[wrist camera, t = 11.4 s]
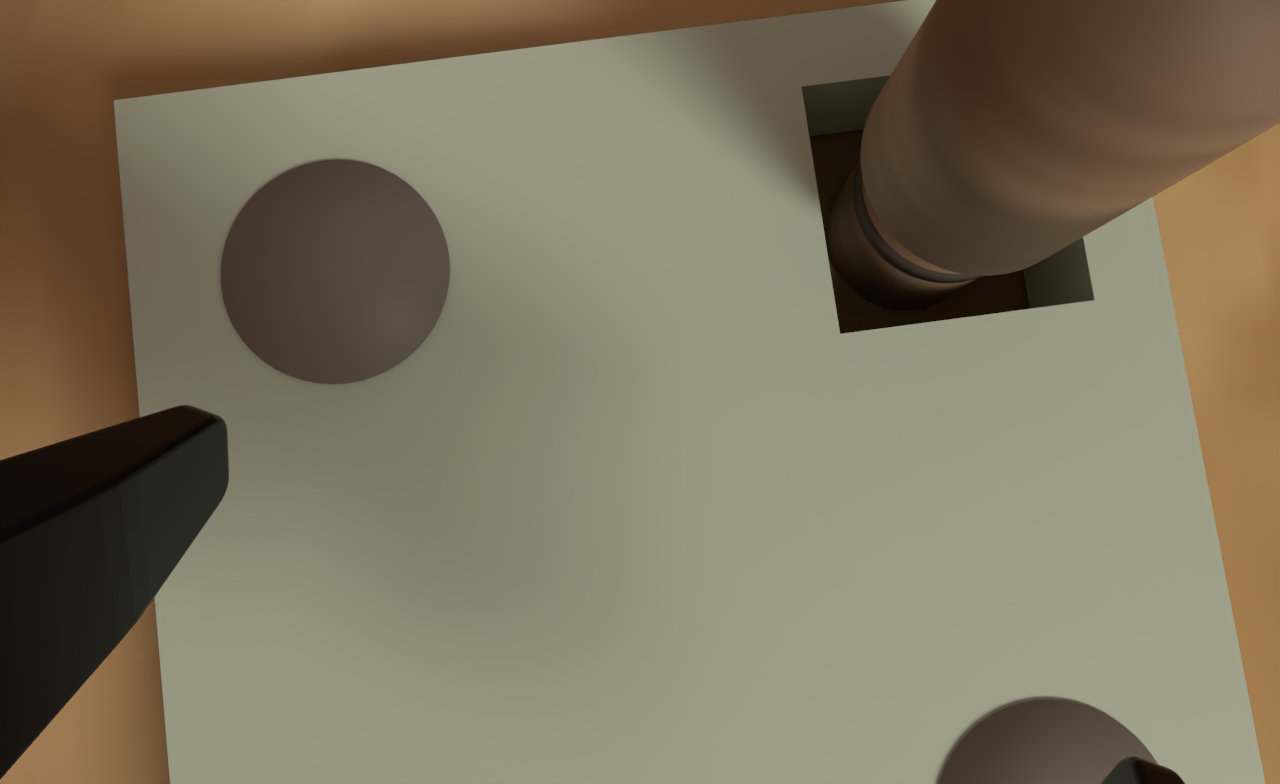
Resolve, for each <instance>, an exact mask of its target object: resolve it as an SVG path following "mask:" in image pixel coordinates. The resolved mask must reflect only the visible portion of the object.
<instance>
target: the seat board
mask: <svg viewBox="0 0 1280 784" xmlns="http://www.w3.org/2000/svg"><path fill="white" fill-rule="evenodd" d="M935 2H936V0H904V1H896V2H888V3H880V4H872V5H864V6H856V7H849V8H841V9H833V10H825V11H817V12H809V13H801V14H793V15H785V16H777V17H769V18H761V19H753V20H746V21H738V22H730V23H722V24H714V25H706V26H698V27H690V28H682V29H674V30H666V31H658V32H650V33H642V34H635V35H627V36H619V37H611V38H603V39H595V40H587V41H579V42H571V43H563V44H555V45H547V46H539V47H531V48H524V49H516V50H508V51H500V52H492V53H484V54H476V55H468V56H460V57H452V58H444V59H436V60H428V61H420V62H413V63H405V64H397V65H389V66H381V67H373V68H365V69H357V70H349V71H341V72H333V73H325V74H317V75H309V76H302V77H294V78H286V79H278V80H270V81H262V82H254V83H246V84H238V85H230V86H222V87H214V88H206V89H198V90H191V91H183V92H175V93H167V94H159V95H151V96H143V97H135V98H127V99H119V100H113V101H114V113H115V125H116V137H117V149H118V161H119V173H120V185H121V197H122V210H123V222H124V234H125V246H126V258H127V270H128V282H129V294H130V306H131V318H132V330H133V342H134V354H135V367H136V379H137V391H138V403H139V415H140V417H143V416H146V415H149V414H153V413H156V412H159V411H163V410H166V409H169V408H172V407H176V406H180V405H190V406H194V407H197V408H199V409H202V410H205V411H207V412H210V413H213V414H216V415H218V416H220V417H221V418H223V420H224V421H225V423H226V425H227V432H228V458H229V482H228V487H227V490H226V493H225V495H224V497H223V499H222V501H221V502H220V504H219V505H218V507H217V508H216V510H215V511H214V513H213V514H212V515H211V517H210V518H209V520H208V521H207V523H206V524H205V526H204V527H203V528H202V530H201V531H200V533H199V534H198V536H197V537H196V538H195V540H194V541H193V543H192V544H191V546H190V547H189V548H188V550H187V551H186V553H185V554H184V556H183V557H182V559H181V560H180V561H179V563H178V564H177V566H176V567H175V569H174V570H173V571H172V573H171V574H170V576H169V577H168V579H167V580H166V582H165V583H164V584H163V586H162V587H161V589H160V590H159V592H158V593H157V594H156V596H155V608H156V620H157V632H158V644H159V656H160V668H161V680H162V693H163V705H164V717H165V729H166V741H167V753H168V765H169V777H170V784H1100V783H1101V782H1102V781H1103V779H1104V778H1105V777H1106V776H1107V775H1108V774H1109V772H1110V771H1111V770H1112V769H1113V768H1114V766H1115V765H1116V764H1117V763H1118V762H1119V761H1120V760H1121V759H1122V758H1125V757H1127V756H1137V757H1140V758H1143V759H1145V760H1148V761H1151V762H1153V763H1156V764H1159V765H1161V766H1164V767H1167V768H1169V769H1171V770H1173V771H1174V772H1176V773H1177V774H1178V775H1179V776H1180V777H1181V779H1182V780H1183V781H1184V783H1185V784H1265V780H1264V774H1263V769H1262V764H1261V759H1260V754H1259V748H1258V743H1257V738H1256V733H1255V728H1254V722H1253V717H1252V712H1251V707H1250V702H1249V696H1248V691H1247V686H1246V681H1245V676H1244V670H1243V665H1242V660H1241V655H1240V649H1239V644H1238V639H1237V634H1236V629H1235V623H1234V618H1233V613H1232V608H1231V603H1230V597H1229V592H1228V587H1227V582H1226V577H1225V571H1224V566H1223V561H1222V556H1221V550H1220V545H1219V540H1218V535H1217V530H1216V524H1215V519H1214V514H1213V509H1212V504H1211V498H1210V493H1209V488H1208V483H1207V478H1206V472H1205V467H1204V462H1203V457H1202V452H1201V446H1200V441H1199V436H1198V431H1197V425H1196V420H1195V415H1194V410H1193V405H1192V399H1191V394H1190V389H1189V384H1188V379H1187V373H1186V368H1185V363H1184V358H1183V353H1182V347H1181V342H1180V337H1179V332H1178V327H1177V321H1176V316H1175V311H1174V306H1173V300H1172V295H1171V290H1170V285H1169V280H1168V274H1167V269H1166V264H1165V259H1164V254H1163V248H1162V243H1161V238H1160V233H1159V228H1158V222H1157V217H1156V212H1155V207H1154V201H1153V197H1151V198H1149V199H1148V200H1146V201H1144V202H1143V203H1141V204H1139V205H1137V206H1136V207H1134V208H1132V209H1130V210H1129V211H1127V212H1125V213H1124V214H1122V215H1120V216H1118V217H1117V218H1115V219H1113V220H1111V221H1110V222H1108V223H1106V224H1105V225H1103V226H1101V227H1099V228H1098V229H1096V230H1094V231H1092V232H1091V233H1089V234H1087V235H1086V236H1084V237H1082V238H1080V239H1079V240H1077V241H1075V242H1073V243H1072V244H1070V245H1068V246H1067V247H1065V248H1063V249H1061V250H1060V251H1058V252H1056V253H1054V254H1053V255H1051V256H1049V257H1048V258H1046V259H1044V260H1042V261H1040V262H1039V263H1037V264H1035V265H1033V266H1030V267H1028V268H1025V269H1023V273H1024V279H1025V284H1026V290H1027V296H1028V301H1029V307H1030V309H1024V310H1017V311H1009V312H1001V313H994V314H986V315H979V316H971V317H964V318H956V319H949V320H941V321H933V322H926V323H918V324H911V325H903V326H896V327H888V328H881V329H873V330H865V331H858V332H850V333H843V334H840V330H839V323H838V317H837V310H836V304H835V298H834V291H833V285H832V278H831V272H830V266H829V259H828V253H827V247H826V240H825V234H824V227H823V221H822V215H821V208H820V202H819V195H818V189H817V183H816V176H815V170H814V164H813V157H812V151H811V144H810V138H809V137H810V136H817V135H825V134H833V133H841V132H849V131H856V130H864V127H865V123H866V120H867V117H868V115H869V113H870V110H871V108H872V106H873V104H874V102H875V101H876V99H877V97H878V96H879V94H880V92H881V91H882V89H883V87H884V86H885V84H886V82H887V81H888V79H889V77H890V76H891V74H892V72H893V71H894V69H895V67H896V66H897V64H898V63H899V61H900V59H901V58H902V56H903V54H904V53H905V51H906V49H907V48H908V46H909V44H910V43H911V41H912V39H913V38H914V36H915V35H916V33H917V31H918V30H919V28H920V26H921V25H922V23H923V21H924V20H925V18H926V16H927V15H928V13H929V11H930V10H931V8H932V6H933V5H934V3H935Z"/></svg>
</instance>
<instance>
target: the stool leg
mask: <svg viewBox="0 0 1280 784" xmlns="http://www.w3.org/2000/svg"><path fill="white" fill-rule="evenodd" d="M1279 123H1280V0H936V2H935V3H934V5H933V6H932V8H931V10H930V11H929V13H928V15H927V16H926V18H925V20H924V21H923V23H922V25H921V26H920V28H919V30H918V31H917V33H916V35H915V36H914V38H913V39H912V41H911V43H910V44H909V46H908V48H907V49H906V51H905V53H904V54H903V56H902V58H901V59H900V61H899V63H898V64H897V66H896V67H895V69H894V71H893V72H892V74H891V76H890V77H889V79H888V81H887V82H886V84H885V86H884V87H883V89H882V91H881V92H880V94H879V96H878V97H877V99H876V101H875V102H874V104H873V106H872V108H871V110H870V113H869V115H868V117H867V120H866V123H865V127H864V131H863V135H862V142H861V156H860V158H859V161H858V163H857V164H856V166H855V167H854V169H853V170H852V172H851V173H850V175H849V176H848V178H847V179H846V181H845V182H844V184H843V185H842V187H841V188H840V190H839V191H838V193H837V195H836V196H835V198H834V200H833V202H832V205H831V207H830V210H829V214H828V217H827V225H826V239H827V246H828V250H829V254H830V257H831V260H832V262H833V264H834V267H835V268H836V270H837V272H838V273H839V275H840V276H841V278H842V279H843V280H844V281H845V283H846V284H847V285H848V286H849V287H850V288H851V289H852V290H853V291H855V292H856V293H857V294H859V295H860V296H861V297H863V298H865V299H867V300H868V301H870V302H873V303H875V304H877V305H880V306H883V307H887V308H892V309H899V310H911V309H920V308H924V307H928V306H931V305H933V304H936V303H938V302H940V301H942V300H944V299H946V298H947V297H949V296H951V295H952V294H954V293H955V292H957V291H958V290H960V289H962V288H963V287H965V286H966V285H968V284H969V283H971V282H973V281H974V280H976V279H977V278H980V277H982V276H992V275H1001V274H1008V273H1012V272H1015V271H1019V270H1023V269H1025V268H1028V267H1030V266H1033V265H1035V264H1037V263H1039V262H1040V261H1042V260H1044V259H1046V258H1048V257H1049V256H1051V255H1053V254H1054V253H1056V252H1058V251H1060V250H1061V249H1063V248H1065V247H1067V246H1068V245H1070V244H1072V243H1073V242H1075V241H1077V240H1079V239H1080V238H1082V237H1084V236H1086V235H1087V234H1089V233H1091V232H1092V231H1094V230H1096V229H1098V228H1099V227H1101V226H1103V225H1105V224H1106V223H1108V222H1110V221H1111V220H1113V219H1115V218H1117V217H1118V216H1120V215H1122V214H1124V213H1125V212H1127V211H1129V210H1130V209H1132V208H1134V207H1136V206H1137V205H1139V204H1141V203H1143V202H1144V201H1146V200H1148V199H1149V198H1151V197H1153V196H1155V195H1156V194H1158V193H1160V192H1162V191H1163V190H1165V189H1167V188H1168V187H1170V186H1172V185H1174V184H1175V183H1177V182H1179V181H1181V180H1182V179H1184V178H1186V177H1187V176H1189V175H1191V174H1193V173H1194V172H1196V171H1198V170H1200V169H1201V168H1203V167H1205V166H1206V165H1208V164H1210V163H1212V162H1213V161H1215V160H1217V159H1218V158H1220V157H1222V156H1224V155H1225V154H1227V153H1229V152H1231V151H1232V150H1234V149H1236V148H1237V147H1239V146H1241V145H1243V144H1244V143H1246V142H1248V141H1250V140H1251V139H1253V138H1255V137H1256V136H1258V135H1260V134H1262V133H1263V132H1265V131H1267V130H1269V129H1270V128H1272V127H1274V126H1275V125H1277V124H1279Z"/></svg>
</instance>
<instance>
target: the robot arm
mask: <svg viewBox="0 0 1280 784" xmlns="http://www.w3.org/2000/svg"><path fill="white" fill-rule="evenodd" d="M228 482H229V458H228V432H227V425H226V423H225V421H224V420H223V418H221V417H220V416H218V415H216V414H213V413H210V412H207V411H205V410H202V409H199V408H197V407H194V406H190V405H180V406H176V407H172V408H169V409H166V410H163V411H159V412H156V413H153V414H149V415H146V416H143V417H140V418H136V419H133V420H130V421H127V422H123V423H120V424H117V425H114V426H110V427H107V428H104V429H101V430H97V431H94V432H91V433H88V434H84V435H81V436H78V437H75V438H71V439H68V440H65V441H62V442H58V443H55V444H52V445H49V446H45V447H42V448H39V449H36V450H32V451H29V452H26V453H23V454H19V455H16V456H13V457H10V458H6V459H3V460H0V779H1V778H2V777H3V776H4V775H5V774H6V772H7V771H8V770H9V769H10V768H11V767H12V765H13V764H14V763H15V762H16V761H17V760H18V759H19V757H20V756H21V755H22V754H23V753H24V752H25V751H26V749H27V748H28V747H29V746H30V745H31V744H32V742H33V741H34V740H35V739H36V738H37V737H38V736H39V734H40V733H41V732H42V731H43V730H44V729H45V728H46V726H47V725H48V724H49V723H50V722H51V721H52V719H53V718H54V717H55V716H56V715H57V714H58V713H59V711H60V710H61V709H62V708H63V707H64V706H65V704H66V703H67V702H68V701H69V700H70V699H71V698H72V696H73V695H74V694H75V693H76V692H77V691H78V690H79V688H80V687H81V686H82V685H83V684H84V683H85V681H86V680H87V679H88V678H89V677H90V676H91V675H92V673H93V672H94V671H95V670H96V669H97V668H98V667H99V665H100V664H101V663H102V662H103V661H104V660H105V658H106V657H107V656H108V655H109V654H110V653H111V652H112V650H113V649H114V648H115V647H116V646H117V645H118V644H119V642H120V641H121V640H122V639H123V638H124V636H125V635H126V634H127V633H128V632H129V630H130V629H131V628H132V627H133V625H134V624H135V623H136V622H137V621H138V619H139V618H140V616H141V615H142V614H143V612H144V611H145V610H146V608H147V607H148V606H149V604H150V603H151V602H152V600H153V599H154V597H155V596H156V594H157V593H158V592H159V590H160V589H161V587H162V586H163V584H164V583H165V582H166V580H167V579H168V577H169V576H170V574H171V573H172V571H173V570H174V569H175V567H176V566H177V564H178V563H179V561H180V560H181V559H182V557H183V556H184V554H185V553H186V551H187V550H188V548H189V547H190V546H191V544H192V543H193V541H194V540H195V538H196V537H197V536H198V534H199V533H200V531H201V530H202V528H203V527H204V526H205V524H206V523H207V521H208V520H209V518H210V517H211V515H212V514H213V513H214V511H215V510H216V508H217V507H218V505H219V504H220V502H221V501H222V499H223V497H224V495H225V493H226V490H227V487H228ZM1100 784H1185V783H1184V781H1183V780H1182V779H1181V777H1180V776H1179V775H1178V774H1177V773H1176V772H1174V771H1173V770H1171V769H1169V768H1167V767H1164V766H1161V765H1159V764H1156V763H1153V762H1151V761H1148V760H1145V759H1143V758H1140V757H1137V756H1127V757H1125V758H1122V759H1121V760H1120V761H1119V762H1118V763H1117V764H1116V765H1115V766H1114V768H1113V769H1112V770H1111V771H1110V772H1109V774H1108V775H1107V776H1106V777H1105V778H1104V779H1103V781H1102V782H1101V783H1100Z"/></svg>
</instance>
